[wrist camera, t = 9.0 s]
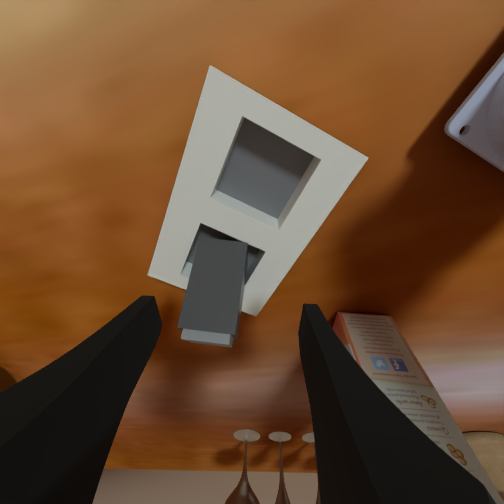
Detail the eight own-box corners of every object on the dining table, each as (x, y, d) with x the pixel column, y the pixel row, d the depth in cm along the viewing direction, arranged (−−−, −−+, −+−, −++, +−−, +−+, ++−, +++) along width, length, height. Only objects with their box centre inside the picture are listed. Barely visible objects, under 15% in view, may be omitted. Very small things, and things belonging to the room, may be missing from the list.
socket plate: (354, 151, 16) (368, 157, 13) (256, 297, 23) (256, 316, 21) (218, 72, 14) (210, 65, 12) (159, 258, 21) (147, 275, 19)
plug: (247, 242, 17) (233, 345, 14) (247, 262, 20) (236, 348, 17) (199, 237, 17) (174, 337, 14) (207, 257, 20) (188, 342, 17)
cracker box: (332, 308, 23) (560, 968, 5) (392, 312, 23) (835, 1003, 5) (308, 384, 30) (371, 770, 13) (354, 388, 30) (482, 782, 12)
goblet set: (403, 431, 36) (466, 578, 25) (393, 447, 39) (446, 583, 28) (228, 426, 38) (212, 559, 27) (232, 441, 41) (219, 566, 30)
